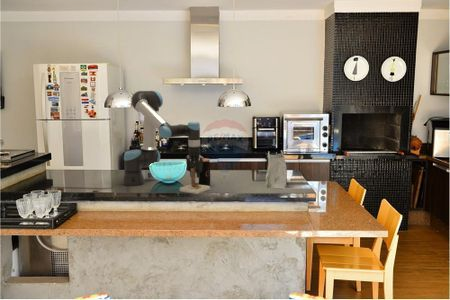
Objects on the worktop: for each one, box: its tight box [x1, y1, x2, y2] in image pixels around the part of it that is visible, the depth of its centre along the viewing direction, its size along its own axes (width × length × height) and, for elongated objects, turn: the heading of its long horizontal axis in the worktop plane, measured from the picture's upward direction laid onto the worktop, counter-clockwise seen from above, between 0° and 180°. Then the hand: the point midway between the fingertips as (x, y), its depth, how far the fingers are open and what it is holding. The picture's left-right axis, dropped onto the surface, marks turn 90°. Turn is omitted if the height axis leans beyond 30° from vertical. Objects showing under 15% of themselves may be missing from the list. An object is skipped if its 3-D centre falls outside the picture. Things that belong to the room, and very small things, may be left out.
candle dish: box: [179, 184, 211, 195], centre depth 286 cm, size 14×14×3 cm
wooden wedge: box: [190, 166, 199, 187], centre depth 285 cm, size 3×5×12 cm, turn 148°
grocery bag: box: [265, 150, 288, 189], centre depth 307 cm, size 32×14×23 cm, turn 176°
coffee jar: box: [194, 157, 211, 186], centre depth 301 cm, size 11×11×18 cm
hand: (194, 182), depth 285 cm, fingers closed on wooden wedge, 3 cm apart
